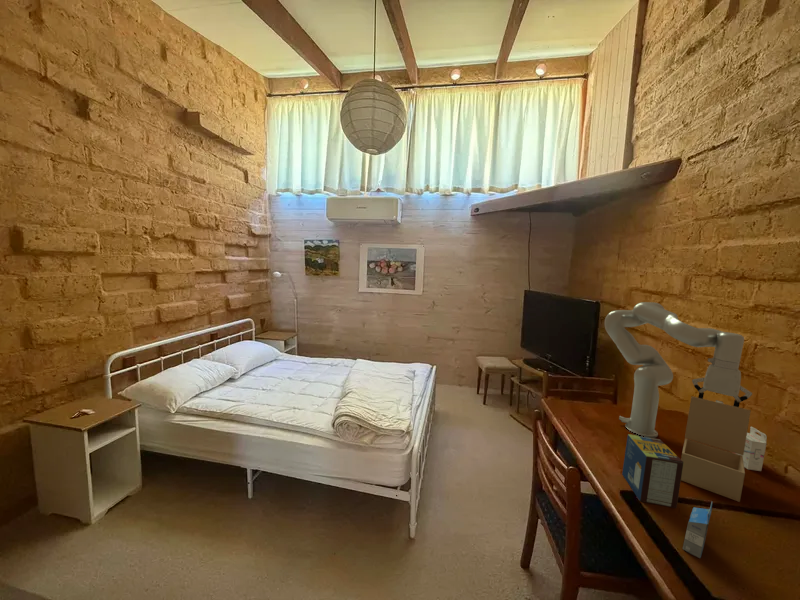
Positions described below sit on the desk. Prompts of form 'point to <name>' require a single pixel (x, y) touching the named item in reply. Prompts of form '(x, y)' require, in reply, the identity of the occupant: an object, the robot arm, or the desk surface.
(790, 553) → the desk surface
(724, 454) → the carton
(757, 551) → the desk surface
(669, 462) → the protein box
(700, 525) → the label tape box
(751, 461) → the ink cartridge box
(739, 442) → the carton flap
